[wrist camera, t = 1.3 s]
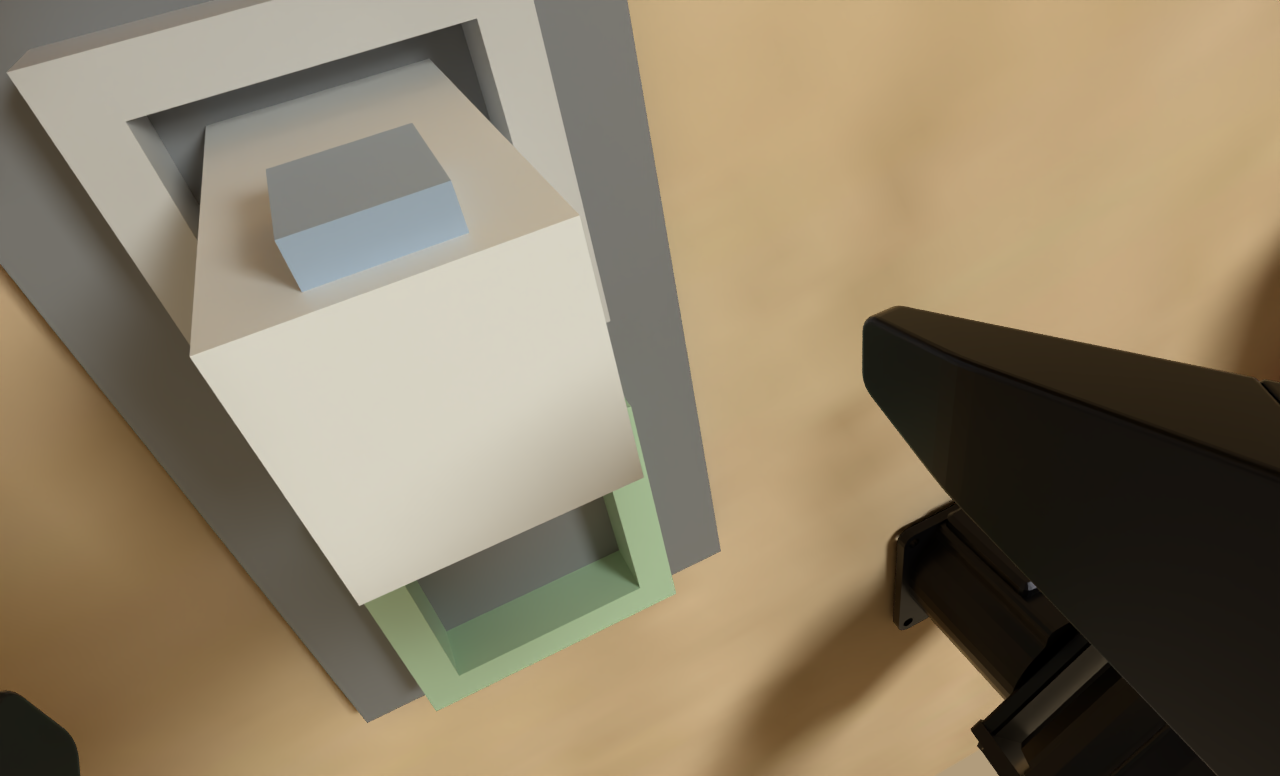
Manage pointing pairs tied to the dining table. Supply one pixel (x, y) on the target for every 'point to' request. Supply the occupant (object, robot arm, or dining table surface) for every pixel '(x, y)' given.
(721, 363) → the dining table surface
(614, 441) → the plug
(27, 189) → the panel
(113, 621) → the dining table surface
